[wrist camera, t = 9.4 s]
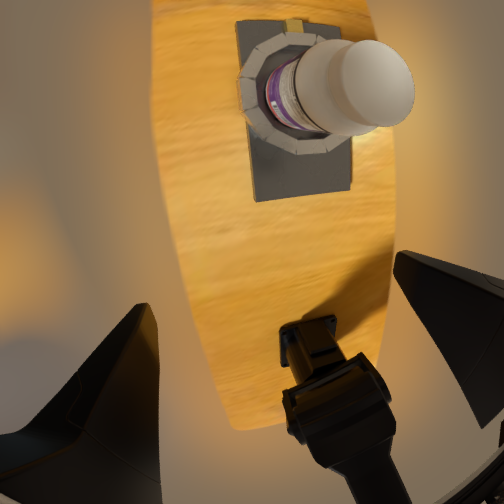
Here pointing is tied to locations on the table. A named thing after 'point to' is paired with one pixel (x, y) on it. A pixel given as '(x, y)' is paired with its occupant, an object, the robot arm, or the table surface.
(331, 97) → the pill bottle
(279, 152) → the plate
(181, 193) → the table surface
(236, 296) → the table surface
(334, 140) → the collar
